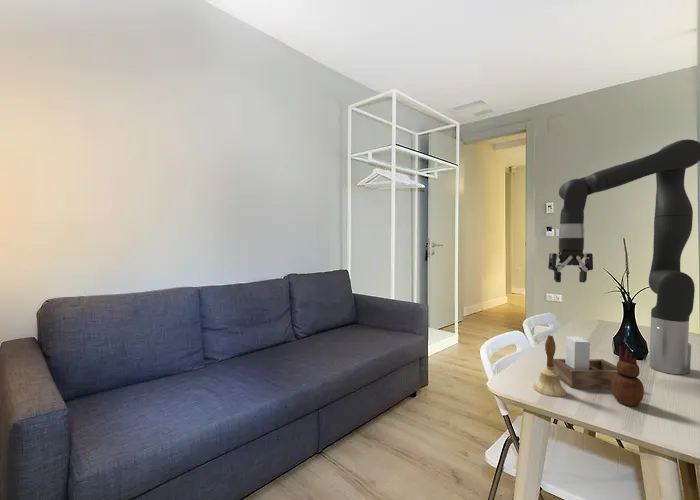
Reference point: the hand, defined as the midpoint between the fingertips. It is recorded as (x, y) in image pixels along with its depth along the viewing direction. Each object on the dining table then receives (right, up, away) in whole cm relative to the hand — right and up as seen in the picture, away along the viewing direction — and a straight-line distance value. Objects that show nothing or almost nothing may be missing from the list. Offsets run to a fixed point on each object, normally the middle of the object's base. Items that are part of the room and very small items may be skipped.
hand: (570, 282), depth 120 cm
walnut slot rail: (-5, -29, -17) cm, 34 cm away
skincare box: (-9, -28, -17) cm, 34 cm away
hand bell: (-21, -29, -23) cm, 43 cm away
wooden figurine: (-5, -30, -30) cm, 43 cm away
